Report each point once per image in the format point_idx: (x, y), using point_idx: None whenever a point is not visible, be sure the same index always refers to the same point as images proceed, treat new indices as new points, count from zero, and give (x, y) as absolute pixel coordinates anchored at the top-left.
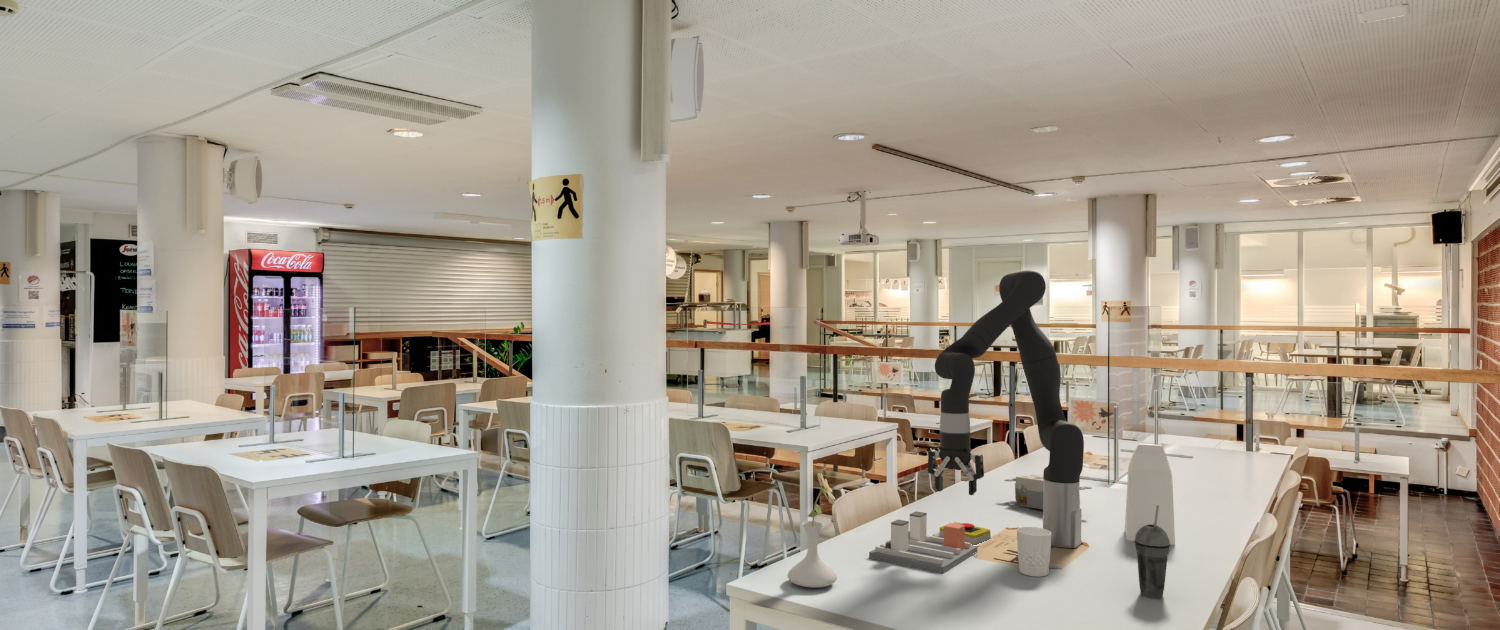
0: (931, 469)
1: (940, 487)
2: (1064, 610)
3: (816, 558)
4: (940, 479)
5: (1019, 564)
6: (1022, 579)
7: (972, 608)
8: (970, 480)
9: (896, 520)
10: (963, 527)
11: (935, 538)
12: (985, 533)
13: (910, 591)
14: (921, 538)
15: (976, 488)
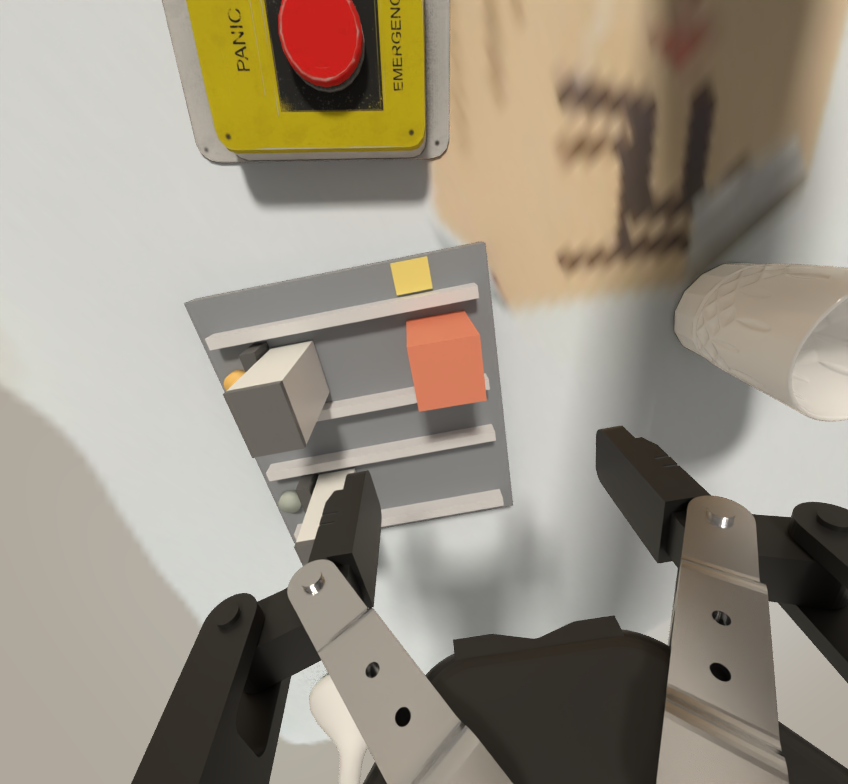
0: (281, 698)
1: (375, 518)
2: (818, 500)
3: (366, 749)
4: (369, 571)
5: (694, 348)
6: (699, 391)
7: (648, 598)
8: (672, 552)
9: (303, 560)
10: (480, 348)
11: (338, 324)
12: (423, 12)
13: (514, 610)
14: (322, 387)
15: (666, 456)
